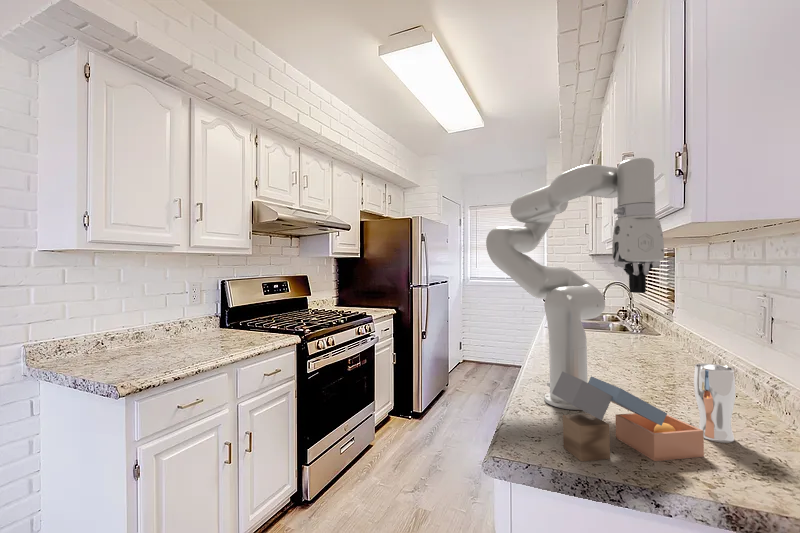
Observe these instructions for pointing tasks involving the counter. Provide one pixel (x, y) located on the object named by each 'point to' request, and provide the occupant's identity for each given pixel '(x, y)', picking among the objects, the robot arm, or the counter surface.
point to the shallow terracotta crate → (660, 437)
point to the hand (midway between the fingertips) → (637, 292)
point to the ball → (663, 428)
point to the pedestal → (586, 437)
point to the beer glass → (715, 400)
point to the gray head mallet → (602, 398)
